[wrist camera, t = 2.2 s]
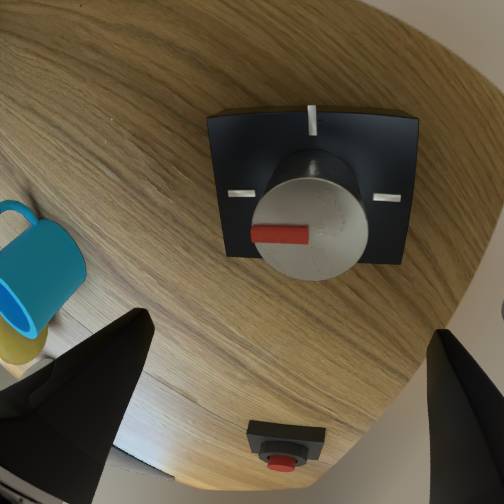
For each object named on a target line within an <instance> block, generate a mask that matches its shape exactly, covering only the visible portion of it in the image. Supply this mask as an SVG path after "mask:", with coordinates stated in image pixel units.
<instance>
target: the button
mask: <svg viewBox="0 0 504 504" xmlns="http://www.w3.org/2000/svg"><path fill="white" fill-rule="evenodd" d="M295 463H296V459H294V458H291V457H288V456H279V455H274V456H270V457H269V461H268V466H267V467H268V468H269V469H271V470H275V471H280V472H292V471H294V468H295Z"/></svg>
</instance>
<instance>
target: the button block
mask: <svg viewBox="0 0 504 504" xmlns="http://www.w3.org/2000/svg"><path fill="white" fill-rule="evenodd" d="M325 430H326V428H314V427H302V426H291V425H282V424H273V423H266V422H258V421H252V420H250V422H249V425H248V429H247V433H246V435H247V438H248V441H249V445H250V448H251V451H252V453H258V455H259V459H261V460H263V461H264V462H266V463H268V461H269V457H270V456H274V455H279V456H288V457H291V458H294V459H296V463H295V467H296V466H302V465H305V464H306V462H307V459H310V460H318V459H319V456H320V453H321V450H322V447H323V444H324V438H325Z"/></svg>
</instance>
